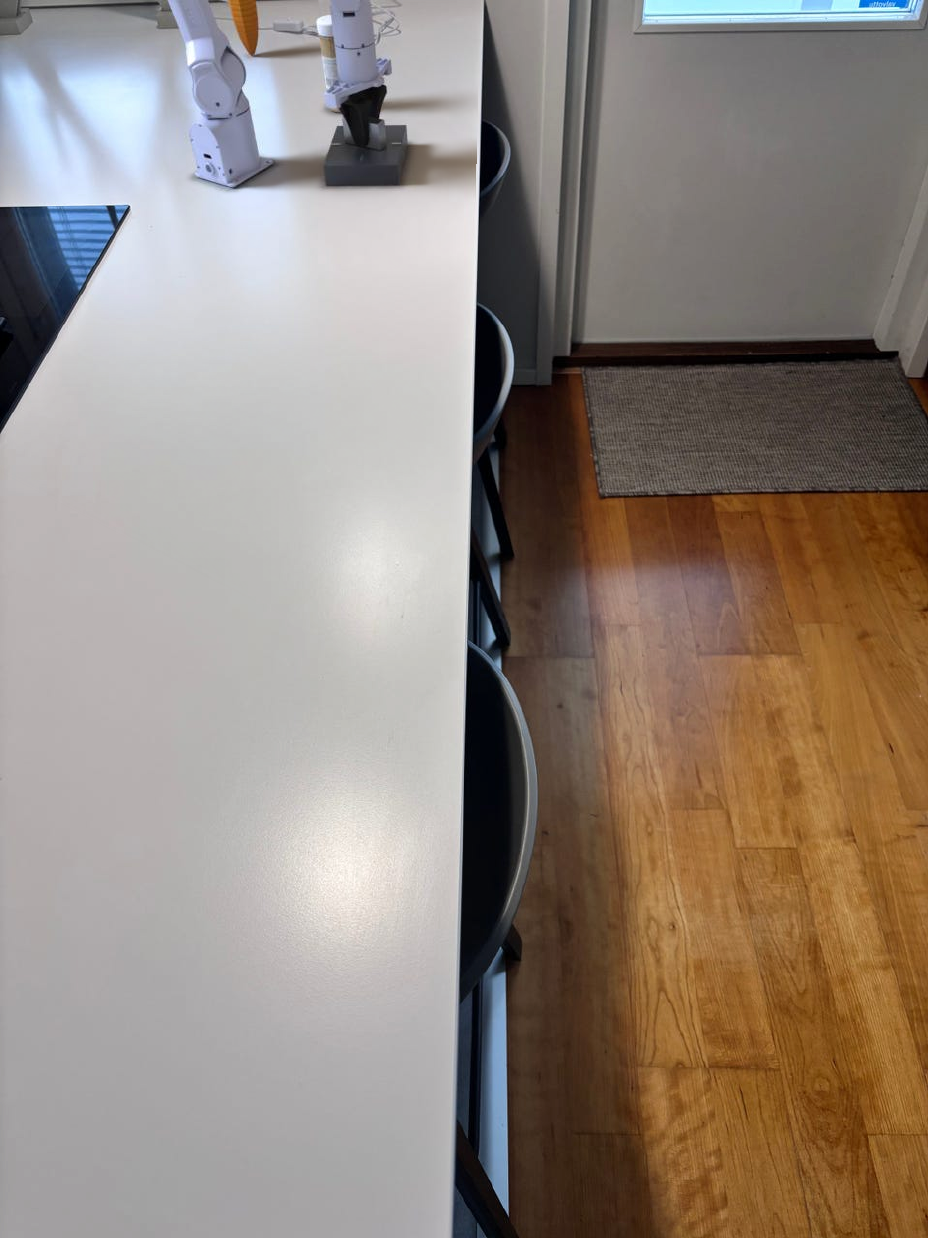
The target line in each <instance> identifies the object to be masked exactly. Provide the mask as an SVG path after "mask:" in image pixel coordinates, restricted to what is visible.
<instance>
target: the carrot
mask: <svg viewBox="0 0 928 1238" xmlns="http://www.w3.org/2000/svg"><path fill="white" fill-rule="evenodd" d="M227 1H228V5H229V9H230V15H231V18H232V21H233V24H234V27H235V30H236V32H237V36H238V38H239V39H240V41H241V44H242V45H243V47H244V48H245V50H246V51H247V53H248V54H249V55H250V56H251V57H254V55H255V54H256V51H257V47H258V43H259V42H258V41H259V13H258V7H257V1H256V0H227Z"/></svg>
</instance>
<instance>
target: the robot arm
mask: <svg viewBox="0 0 928 1238" xmlns="http://www.w3.org/2000/svg"><path fill="white" fill-rule="evenodd" d="M167 2H168V5H169V7H170V9H171V12H172V14H173V16H174V19H175V22H176V24H177V27H178V29H179V32H180V34H181V35H182V39H183V41H184V44H185V45H184V46H185V52H186V55H185V56H186V65H187V69H188V71H189V74H190V77H191V94H192V98H193V99H194V102H195V104H196V106H197V107H198V108H199V109H200V113H199V116H198V118H197V120H196V121H194V122H193V124H192V125H191V126H190V128H189V140H190V145H191V148H192V152H193V156H194V160H195V164H196V168H197V171H196V172H195V177H197V178H200V179H203V180H206V181H209V182H212V183H217V184H219V185H223V186H226V187H229V188H235V187H237V186H238V185H240V184H242V183H244V182H245V181H247V180H248V179H250V178H252V177H254V176H255V175H257V174H258V173H260V172H262V171H263V170H265V169H267V168H268V167H270V166H272V165H273V164H274V161H273V160H272V159H270V158H266V157H262V156H260V152H259V151H260V150H259V146H258V141H257V140H258V139H257V136H256V131H255V125H254V120H253V116H252V110H251V105H250V101H249V99H248V97H247V96H246V95H245V93H244V91H243V88H244V86H245V84H246V81H247V68H246V66H245V63H244V61H243V60H242V58H241V56H239V54H237V52H236V51H235V50H234V49H233V47H232V45H231V43H230V41H229V37H228V36H227V35H226V34H225V32H223V31H222V30H221V29H220V27H219V25H218V23H217V20H216V17H215V15H214V12H213V9H212V7H211V4H210V2H209V0H167ZM329 3H330V5H329V11H330V15H331V20H332V28H333V36H334V45H335V52H336V60H337V68H338V76H337V78H336V79H335V81H334V82H333V84H332V85H331V87H330V88H329V90H327V89H326V91H325V92H323V96H324V97H323V98H324V104H325V108H328V109H329V108H332V109H339V110H340V111H341V115H342V116H344V118H345V120H346V122H347V124H348V127H349V129H350V132H351V135H352V138H353V140H354V143H355V144H356V145H361V146H367V145H368V140H369V130H368V119H369V117H373V118H378V119H380V117H381V112H382V107H383V105H384V104H383V103H384V101H385V98H386V96H387V94H388V87H387V85H385V77H384V76H390V75H392V74H393V68H392V59H391V58H385V57H378V58H377V50H376V39H375V29H374V19H373V17H374V16H373V9H372V8H373V6H372V2H371V0H330V1H329Z"/></svg>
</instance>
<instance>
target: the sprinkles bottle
mask: <svg viewBox="0 0 928 1238" xmlns="http://www.w3.org/2000/svg"><path fill="white" fill-rule="evenodd" d="M316 28H317V34H318V37H319V42H320V43H319V44H320V52H321V60H322V61H321V62H322V68H323V76H324V82H325V89H326V91H327V90H329V88H330V87H331V85H332V84H333V82H334V81H335V79H336V78H337V76H338V68H337V60H336V52H335V45H334V36H333V28H332V20H331V14H327V15H322V16H319V18H317V20H316ZM328 109H329V110H330V111H331V112H332V113H333V112H334V113H341V111H340V110H339V109H332V108H328ZM341 114H342V113H341Z"/></svg>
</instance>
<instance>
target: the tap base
mask: <svg viewBox="0 0 928 1238" xmlns="http://www.w3.org/2000/svg"><path fill="white" fill-rule="evenodd" d="M385 132H386V142H387V146H386V147H384V148H383V149H382V150H377V149H372V148H367V147H363V146H358V145H354V144H349V143H345V138H344V130H343V125H337V126H336V128H335V130H334V133H333V136H332V139H331V141H330V145H329V147H328V150H327V154H326V157H325V160H324V162H323V166H322V167H323V173H324V175H323V176H324V181H325V186H326V187H342V186H343V187H344V186H345V187H349V186H351V187H352V186H353V187H355V186H356V187H357V186H358V187H359V186H361V187H362V186H363V187H364V186H367V187H368V186H399V185H400V182H401V178H402V173H403V168H404V164H405V160H406V159H405V158H406V154H407V151H408V145H409V140H408V129H407V124H385Z"/></svg>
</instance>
